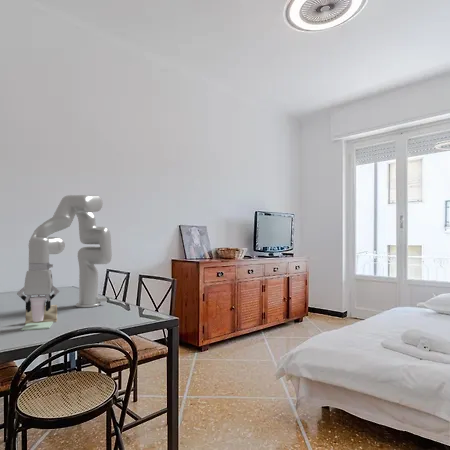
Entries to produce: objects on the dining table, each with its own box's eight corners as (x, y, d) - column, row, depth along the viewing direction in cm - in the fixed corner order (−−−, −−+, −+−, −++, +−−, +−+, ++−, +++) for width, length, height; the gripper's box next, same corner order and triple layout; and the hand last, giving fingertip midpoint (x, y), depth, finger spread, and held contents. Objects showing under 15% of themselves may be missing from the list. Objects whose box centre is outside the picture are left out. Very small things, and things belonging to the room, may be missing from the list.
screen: (57, 320, 157) (57, 304, 157) (56, 321, 154) (56, 305, 154) (26, 322, 153) (27, 306, 153) (25, 324, 150) (25, 307, 150)
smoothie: (49, 318, 149) (49, 285, 150) (42, 322, 143) (42, 287, 143) (34, 319, 149) (34, 285, 149) (26, 322, 143) (26, 287, 143)
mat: (53, 322, 152) (53, 321, 152) (49, 328, 143) (49, 327, 143) (26, 324, 149) (27, 323, 149) (21, 330, 140) (21, 329, 140)
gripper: (62, 266, 153) (62, 308, 152) (17, 267, 148) (16, 310, 147) (60, 267, 146) (59, 311, 145) (12, 268, 141) (11, 314, 140)
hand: (38, 310), depth 146 cm, fingers closed on smoothie, 6 cm apart
